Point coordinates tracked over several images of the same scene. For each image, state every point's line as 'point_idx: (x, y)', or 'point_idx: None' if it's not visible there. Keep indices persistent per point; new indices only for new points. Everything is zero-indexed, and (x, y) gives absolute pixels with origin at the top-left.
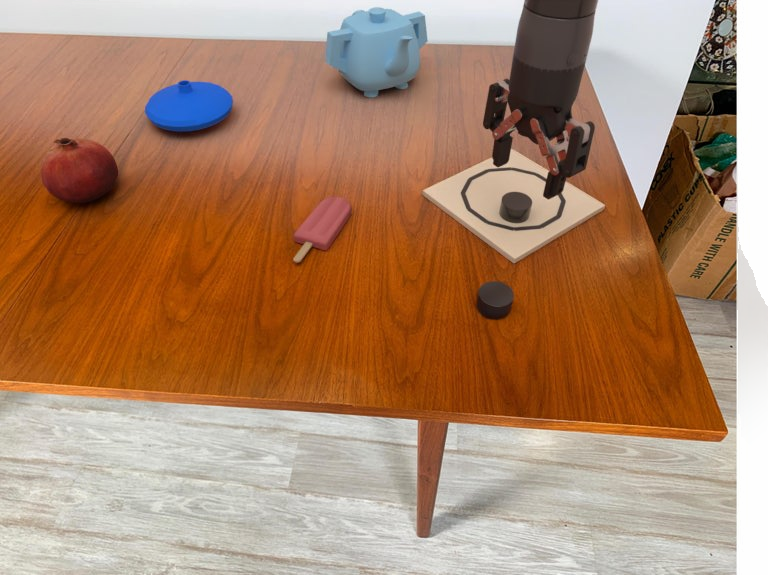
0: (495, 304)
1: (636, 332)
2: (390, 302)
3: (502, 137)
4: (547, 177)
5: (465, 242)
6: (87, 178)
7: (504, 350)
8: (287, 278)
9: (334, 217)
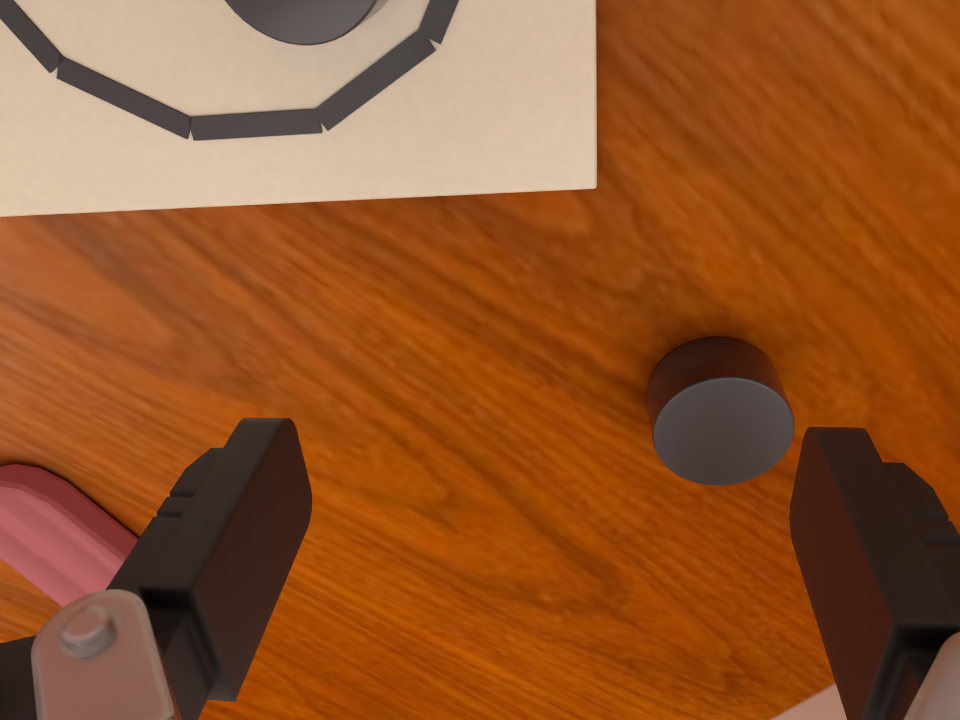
0: (759, 467)
1: None
2: (488, 583)
3: (195, 713)
4: (841, 687)
5: (370, 253)
6: None
7: None
8: (271, 690)
9: (82, 556)
